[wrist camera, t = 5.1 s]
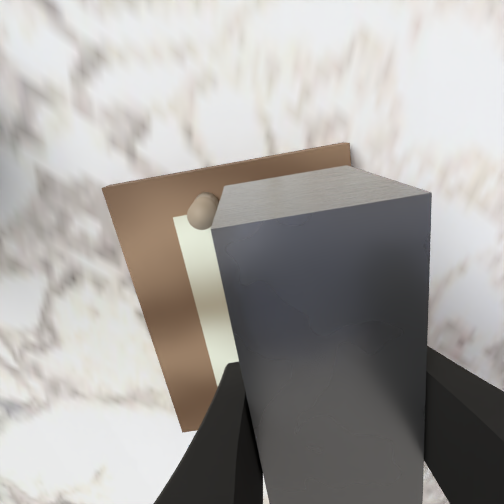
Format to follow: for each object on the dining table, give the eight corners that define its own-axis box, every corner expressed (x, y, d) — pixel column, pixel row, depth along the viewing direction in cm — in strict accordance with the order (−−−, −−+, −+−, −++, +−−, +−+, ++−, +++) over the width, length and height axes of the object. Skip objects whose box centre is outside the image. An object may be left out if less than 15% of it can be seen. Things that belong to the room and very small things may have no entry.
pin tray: (361, 391, 22) (382, 437, 19) (185, 419, 22) (175, 469, 19) (343, 142, 16) (368, 144, 13) (109, 185, 17) (77, 198, 13)
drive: (361, 403, 14) (421, 540, 9) (268, 416, 14) (281, 559, 9) (347, 165, 11) (433, 192, 6) (223, 186, 11) (209, 228, 6)
